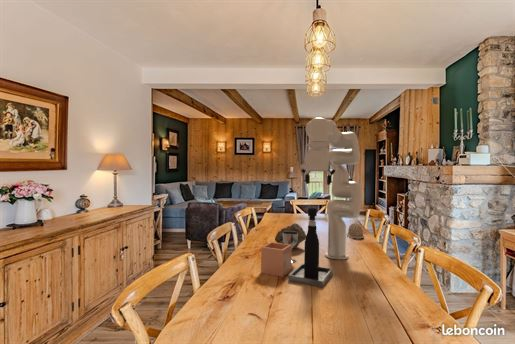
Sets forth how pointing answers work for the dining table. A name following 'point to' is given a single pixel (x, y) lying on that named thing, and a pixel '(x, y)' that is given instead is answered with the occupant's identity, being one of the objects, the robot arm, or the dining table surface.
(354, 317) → the dining table surface
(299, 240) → the rock
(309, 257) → the wine bottle
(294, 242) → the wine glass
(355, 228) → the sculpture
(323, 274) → the tray
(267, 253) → the box
